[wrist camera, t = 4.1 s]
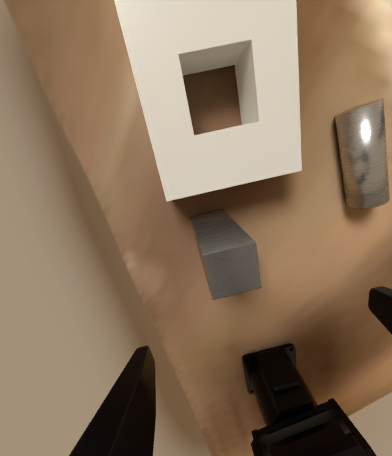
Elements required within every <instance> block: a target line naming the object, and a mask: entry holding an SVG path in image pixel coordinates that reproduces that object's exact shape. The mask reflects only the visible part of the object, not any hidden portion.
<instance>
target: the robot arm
mask: <svg viewBox="0 0 392 456" xmlns="http://www.w3.org/2000/svg"><path fill="white" fill-rule="evenodd" d="M368 306H369V309H370V311H371V312H372V313H373V314H374V315H375V316H376V317H377V319H378V320H379V321H380V322H381V323H382V324H383V325H384V326H385V327H386V329H387V330H388V331H389V332H390V333H391V334H392V289H390V288H387V287H383V286H379V287H375V288H372V289H370V291H369V300H368ZM242 362H243V368H244V373H245V379H246V384H247V389H248V392H249V394H254V393H255V396H256V399H257V402H258V404H259V407H260V410H261V413H262V416H263V419H264V422H265V424H266V427H264V428H261V429H259V430H257V429H255V430H253V431H252V435H253V441H252V443H251V446H252V450H253V454H254V456H376V455H375V453H374V451H373V450H372V449H371V447H370V446H369V444H368V443H367V442H366V440H365V439H364V438H363V436H362V435H361V434H360V432H359V431H358V430H357V428H356V427H355V426H354V425H353V423H352V422H351V421H350V419H349V418H348V417H347V415H346V414H345V413H344V412H343V410H342V409H341V408H340V406H339V405H338V404H337V402H336V401H335V400H334V399H333V398H332V399H329V400H328V402H325V403H323V404H320V405H318V404H317V402H316V401H315V399H314V397H313V396H312V394H311V392H310V391H309V389H308V387H307V386H306V384H305V382H304V381H303V379H302V377H301V375H300V374H299V372H298V370H297V369H296V353H295V347H294V345H293V344H291V343H290V344H286V345H282V346H278V347H274V348H270V349H266V350H263V351H259V352H255V353H251V354H247V355H244V356H243V357H242ZM155 419H156V389H155V362H154V359H153V356H152V353H151V351H150V348H149V346H143V347H139V348H138V349H136V351H135V352H134V354H133V355H132V357H131V359H130V360H129V362H128V363H127V365H126V367H125V368H124V370H123V371H122V373H121V374H120V376H119V378H118V379H117V381H116V382H115V384H114V385H113V387H112V389H111V390H110V392H109V394H108V395H107V397H106V398H105V400H104V401H103V403H102V405H101V406H100V408H99V409H98V411H97V413H96V414H95V416H94V418H93V419H92V421H91V422H90V423H89V425H88V427H87V428H86V430H85V431H84V433H83V435H82V436H81V438H80V439H79V441H78V442H77V444H76V446H75V447H74V449H73V450H72V452H71V454H70V455H69V456H153V445H154V433H155Z"/></svg>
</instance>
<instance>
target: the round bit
mask: <svg viewBox="0 0 392 456" xmlns="http://www.w3.org/2000/svg"><path fill="white" fill-rule="evenodd" d="M335 121H336V128H337V136H338V143H339V151H340V158H341V165H342V173H343V180H344V188H345V195H346V203H347V206H349V207H351V208H358V209H363V208H373V207H377V206H381V205H383V204H385V203H387V202H388V201H389V182H388V164H387V147H386V129H385V112H384V99H379V100H375V101H372V102H369V103H366V104H363V105H360V106H357V107H354V108H352V109H349V110H347V111H344V112H342V113H340V114H337V115H335Z"/></svg>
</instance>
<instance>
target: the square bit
mask: <svg viewBox="0 0 392 456" xmlns="http://www.w3.org/2000/svg"><path fill="white" fill-rule="evenodd" d="M191 221H192V225H193V230H194V234H195V238H196V243H197V247H198V250H199V254H200V257H201V261H202V264H203V268H204V271H205V275H206V278H207V282H208V285H209V289H210V292H211V296H212V299H213V300H214V299H218V298H222V297H226V296H230V295H234V294H239V293H243V292H247V291H251V290H255V289H259V288H261V280H260V272H259V263H258V255H257V247H256V242H255V241H254V240H253V239H252V238H251V237H250V236H249V235H248V234H247V233H246V232H245V231H244V230H243V229H242V228H241V227H240V226H239V225H238V224H237V223H236V222H235V221H234V220H233V219H232V218H231V217H230V216H229V215H228V214H227V213H226V212H225V211H224V210H223V209H222V210H217V211H213V212H209V213H205V214H200V215H196V216H192V217H191Z"/></svg>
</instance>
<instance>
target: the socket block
mask: <svg viewBox="0 0 392 456" xmlns="http://www.w3.org/2000/svg"><path fill="white" fill-rule="evenodd" d="M114 1H115V5H116V9H117V13H118V17H119V20H120V24H121V28H122V32H123V36H124V40H125V43H126V47H127V51H128V55H129V59H130V63H131V67H132V70H133V74H134V78H135V82H136V86H137V90H138V93H139V97H140V101H141V105H142V109H143V113H144V116H145V120H146V124H147V128H148V132H149V136H150V140H151V143H152V147H153V151H154V155H155V159H156V163H157V166H158V170H159V174H160V178H161V182H162V186H163V189H164V193H165V197H166V201H171V200H175V199H180V198H184V197H188V196H193V195H197V194H202V193H206V192H210V191H215V190H219V189H223V188H228V187H232V186H237V185H241V184H245V183H250V182H254V181H258V180H263V179H267V178H272V177H276V176H280V175H285V174H289V173H294V172H298V171H302V163H301V132H300V102H299V71H298V40H297V9H296V0H114ZM232 65H235V73H236V81H237V90H238V98H239V106H240V115H241V123H242V125H240V126H235V127H231V128H226V129H222V130H217V131H212V132H208V133H203V134H199V135H194V132H193V127H192V122H191V117H190V112H189V107H188V101H187V96H186V91H185V86H184V81H183V76H184V75H189V74H194V73H199V72H203V71H208V70H213V69H218V68H223V67H228V66H232Z"/></svg>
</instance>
